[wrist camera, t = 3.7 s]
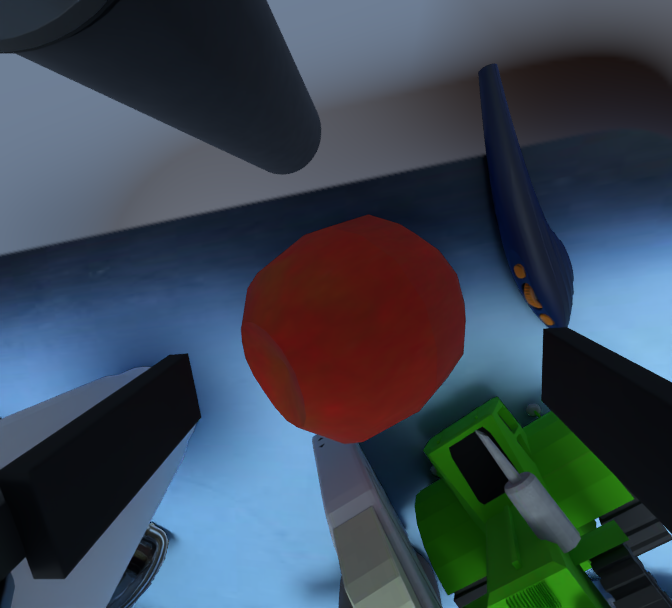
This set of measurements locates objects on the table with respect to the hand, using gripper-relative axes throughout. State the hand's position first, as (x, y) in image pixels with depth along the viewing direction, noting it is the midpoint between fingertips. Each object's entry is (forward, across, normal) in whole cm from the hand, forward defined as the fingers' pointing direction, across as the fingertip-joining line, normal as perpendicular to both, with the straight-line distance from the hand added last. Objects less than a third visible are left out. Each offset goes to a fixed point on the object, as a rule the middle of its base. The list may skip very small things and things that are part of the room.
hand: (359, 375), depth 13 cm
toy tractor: (+2, +10, -14) cm, 17 cm away
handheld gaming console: (-5, +2, -11) cm, 12 cm away
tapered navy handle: (+10, +11, +6) cm, 16 cm away
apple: (+1, -4, 0) cm, 4 cm away
